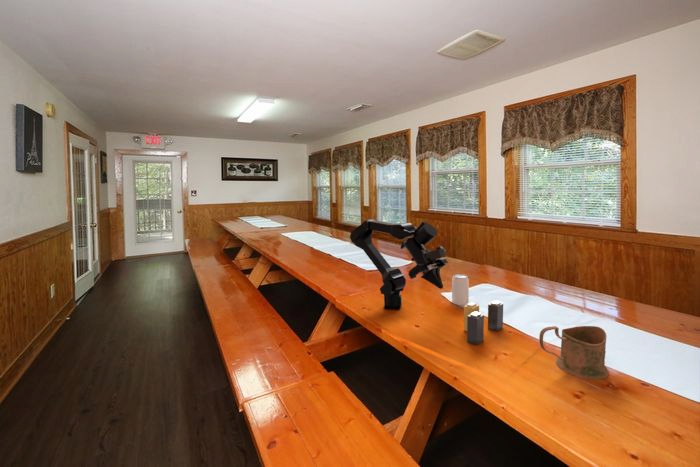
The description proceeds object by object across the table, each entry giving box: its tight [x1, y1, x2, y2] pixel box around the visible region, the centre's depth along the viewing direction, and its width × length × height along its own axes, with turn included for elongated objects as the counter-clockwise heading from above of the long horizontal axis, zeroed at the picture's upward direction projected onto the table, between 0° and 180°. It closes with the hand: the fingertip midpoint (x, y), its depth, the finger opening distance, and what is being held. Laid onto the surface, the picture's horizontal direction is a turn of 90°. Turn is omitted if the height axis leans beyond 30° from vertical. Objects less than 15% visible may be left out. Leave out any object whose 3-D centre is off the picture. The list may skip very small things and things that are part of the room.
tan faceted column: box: [463, 301, 480, 332], centre depth 112 cm, size 3×4×9 cm
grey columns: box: [466, 300, 504, 346], centre depth 112 cm, size 18×19×10 cm
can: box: [451, 273, 470, 306], centre depth 137 cm, size 6×6×12 cm
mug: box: [538, 325, 609, 381], centre depth 89 cm, size 12×18×12 cm, turn 95°
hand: (441, 288), depth 120 cm, fingers closed
